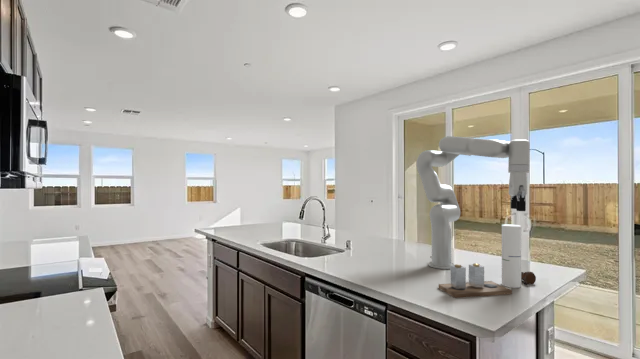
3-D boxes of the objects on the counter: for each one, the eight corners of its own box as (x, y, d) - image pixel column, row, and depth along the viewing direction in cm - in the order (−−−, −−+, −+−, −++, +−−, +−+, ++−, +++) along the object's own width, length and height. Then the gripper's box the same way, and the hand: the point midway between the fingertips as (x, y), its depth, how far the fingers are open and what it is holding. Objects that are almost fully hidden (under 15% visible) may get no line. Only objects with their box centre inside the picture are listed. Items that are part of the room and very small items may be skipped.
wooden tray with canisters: (438, 287, 138) (438, 262, 138) (491, 284, 142) (491, 259, 142) (455, 298, 126) (455, 269, 126) (511, 294, 130) (511, 266, 130)
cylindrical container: (521, 288, 137) (520, 227, 137) (501, 285, 141) (500, 225, 140) (521, 284, 143) (521, 225, 143) (502, 281, 147) (502, 223, 147)
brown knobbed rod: (506, 278, 157) (532, 287, 143) (498, 273, 157) (523, 282, 142) (511, 267, 158) (538, 275, 143) (503, 262, 157) (528, 269, 142)
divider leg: (468, 284, 136) (468, 263, 136) (477, 283, 137) (477, 262, 137) (475, 287, 132) (474, 265, 132) (484, 286, 133) (484, 265, 133)
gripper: (504, 169, 151) (503, 207, 152) (513, 168, 135) (512, 211, 135) (523, 169, 149) (522, 208, 149) (535, 168, 132) (534, 212, 133)
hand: (517, 209), depth 142 cm, fingers open, 9 cm apart
